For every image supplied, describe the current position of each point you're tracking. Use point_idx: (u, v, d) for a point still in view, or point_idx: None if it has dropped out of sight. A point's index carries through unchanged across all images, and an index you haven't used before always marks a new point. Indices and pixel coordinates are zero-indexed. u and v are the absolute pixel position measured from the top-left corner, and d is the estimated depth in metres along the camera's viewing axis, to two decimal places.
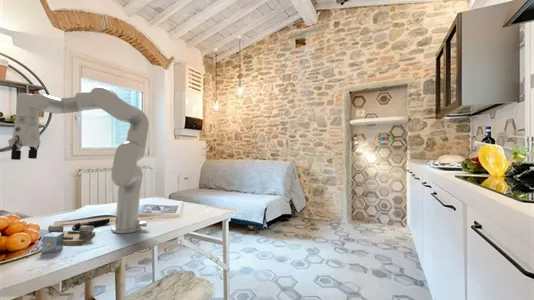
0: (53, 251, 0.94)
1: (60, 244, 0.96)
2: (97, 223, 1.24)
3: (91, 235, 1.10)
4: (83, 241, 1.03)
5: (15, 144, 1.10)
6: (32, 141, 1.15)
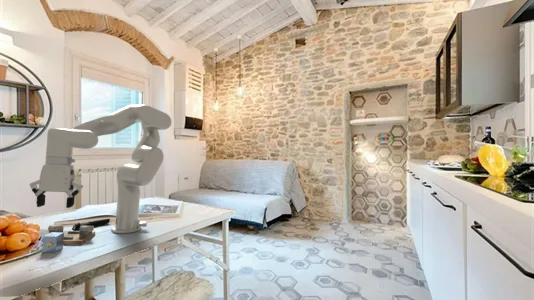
0: (53, 251, 0.94)
1: (60, 244, 0.96)
2: (97, 223, 1.24)
3: (91, 235, 1.10)
4: (83, 241, 1.03)
5: (69, 190, 0.96)
6: None
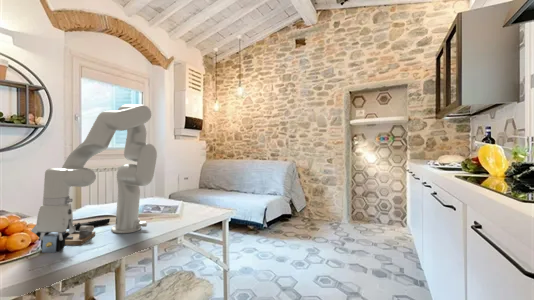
0: (53, 251, 0.94)
1: None
2: (97, 223, 1.24)
3: (91, 235, 1.10)
4: (83, 241, 1.03)
5: (62, 232, 0.95)
6: None
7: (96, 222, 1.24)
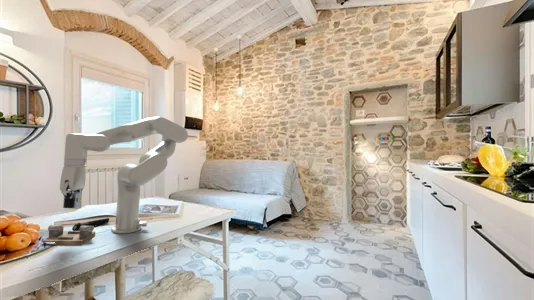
0: (80, 205, 1.08)
1: None
2: (97, 223, 1.25)
3: (91, 235, 1.10)
4: (83, 241, 1.03)
5: None
6: None
7: (96, 222, 1.24)
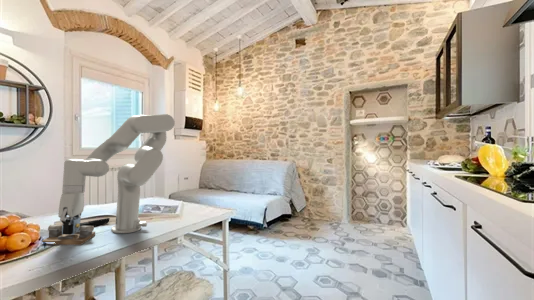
0: (78, 230, 1.08)
1: None
2: (97, 223, 1.25)
3: (91, 235, 1.10)
4: (83, 241, 1.03)
5: (78, 214, 1.10)
6: None
7: (96, 221, 1.25)
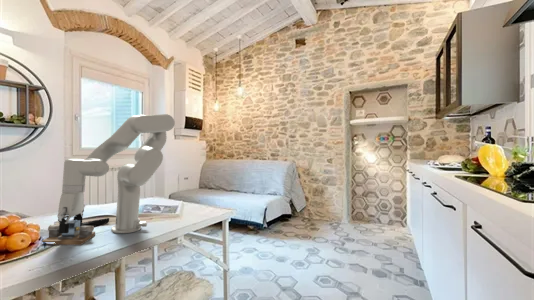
0: (78, 233, 1.08)
1: None
2: (97, 223, 1.25)
3: (91, 235, 1.10)
4: (83, 241, 1.03)
5: None
6: None
7: (96, 222, 1.25)
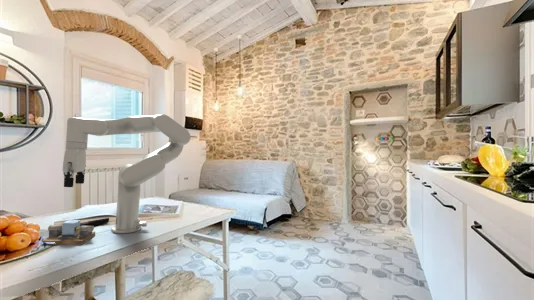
0: (78, 233, 1.08)
1: None
2: (97, 223, 1.25)
3: (91, 235, 1.10)
4: (83, 241, 1.03)
5: None
6: None
7: (96, 221, 1.25)
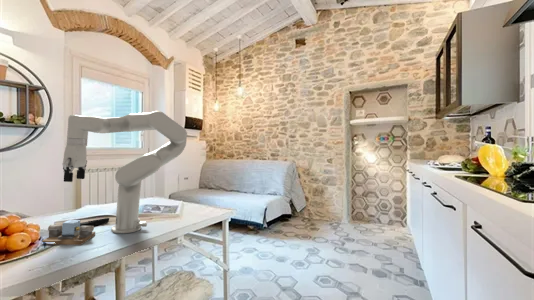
0: (78, 233, 1.08)
1: None
2: (97, 223, 1.25)
3: (91, 235, 1.10)
4: (83, 241, 1.03)
5: None
6: None
7: (96, 221, 1.25)
